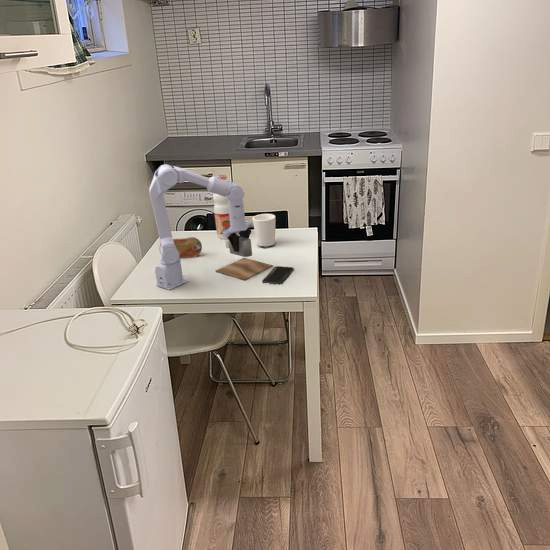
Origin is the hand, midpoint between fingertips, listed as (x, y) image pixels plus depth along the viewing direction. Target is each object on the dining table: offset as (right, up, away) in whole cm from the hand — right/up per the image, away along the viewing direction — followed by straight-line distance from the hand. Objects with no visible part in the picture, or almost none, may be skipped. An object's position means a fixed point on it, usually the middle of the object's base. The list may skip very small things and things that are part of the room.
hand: (240, 249), depth 218 cm
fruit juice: (-9, +8, +43) cm, 45 cm away
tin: (-25, -2, +22) cm, 33 cm away
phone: (+15, -11, -5) cm, 19 cm away
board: (+1, -8, +4) cm, 9 cm away
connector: (0, -2, +1) cm, 2 cm away
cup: (+9, +3, +28) cm, 30 cm away
